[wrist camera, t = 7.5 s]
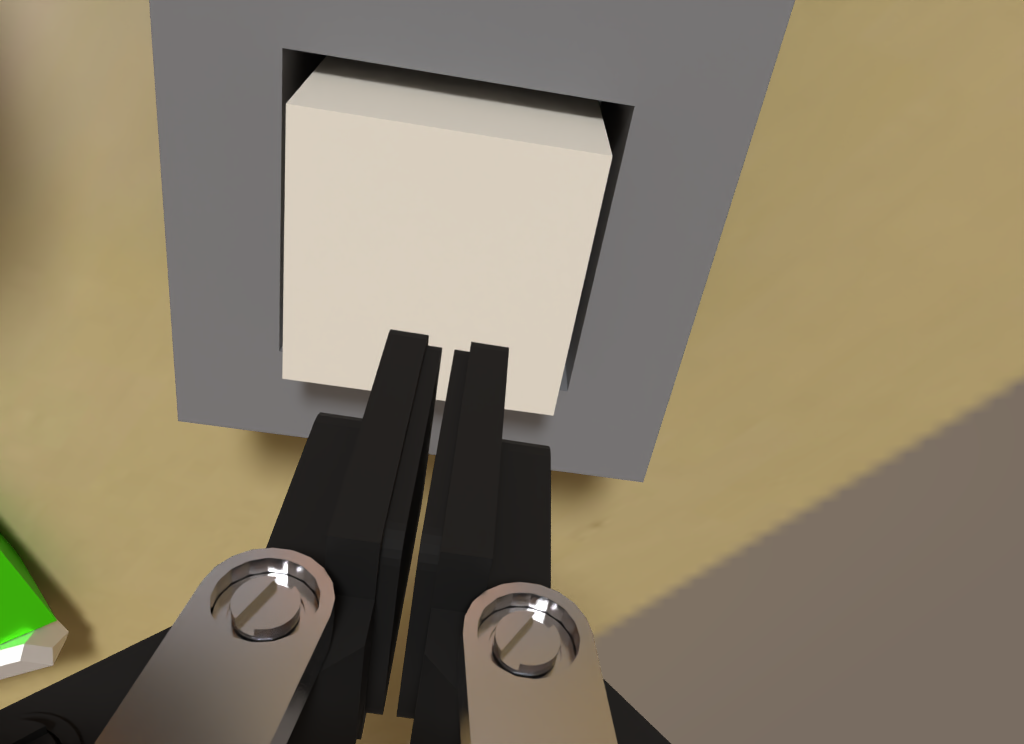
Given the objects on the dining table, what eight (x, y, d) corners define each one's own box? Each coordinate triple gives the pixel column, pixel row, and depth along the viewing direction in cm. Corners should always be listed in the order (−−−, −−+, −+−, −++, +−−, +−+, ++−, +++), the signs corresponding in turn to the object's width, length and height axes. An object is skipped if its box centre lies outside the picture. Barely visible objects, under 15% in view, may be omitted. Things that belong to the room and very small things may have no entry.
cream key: (590, 75, 21) (612, 156, 16) (547, 290, 24) (553, 415, 19) (345, 34, 20) (285, 104, 15) (334, 259, 24) (281, 378, 18)
